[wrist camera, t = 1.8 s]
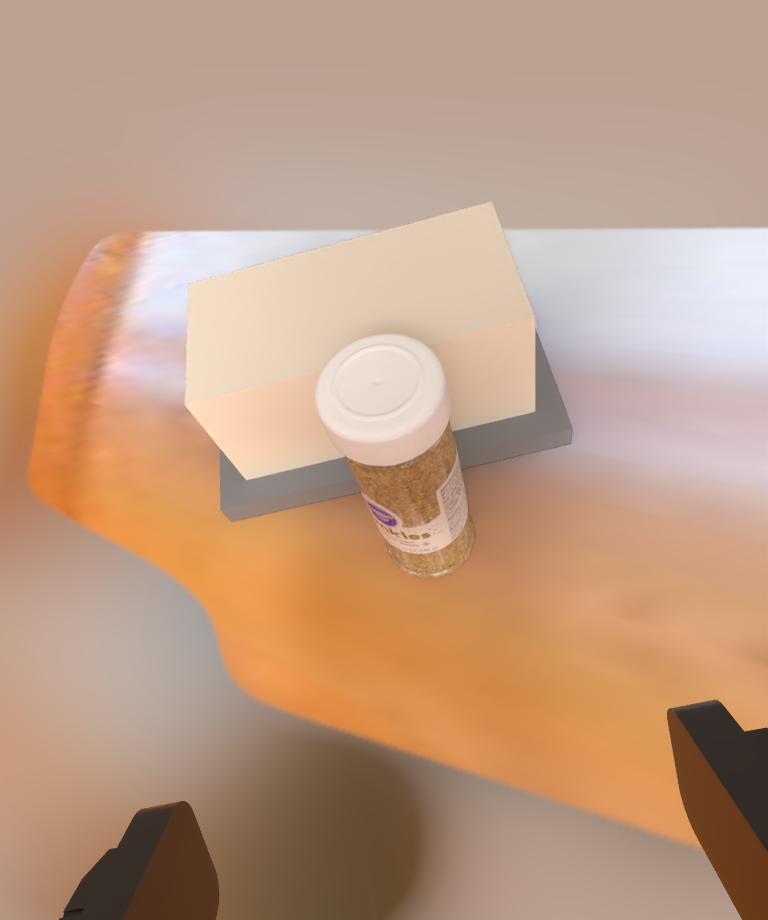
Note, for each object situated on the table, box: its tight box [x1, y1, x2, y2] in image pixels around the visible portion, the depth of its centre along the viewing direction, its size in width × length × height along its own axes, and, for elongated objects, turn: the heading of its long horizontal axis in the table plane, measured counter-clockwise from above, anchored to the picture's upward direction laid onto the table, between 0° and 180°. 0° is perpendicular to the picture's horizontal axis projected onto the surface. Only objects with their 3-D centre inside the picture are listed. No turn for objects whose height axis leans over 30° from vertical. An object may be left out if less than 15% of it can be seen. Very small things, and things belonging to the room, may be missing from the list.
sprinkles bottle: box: [315, 333, 475, 578], centre depth 27 cm, size 5×5×13 cm
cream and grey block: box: [185, 202, 572, 522], centre depth 34 cm, size 19×11×9 cm, turn 98°
